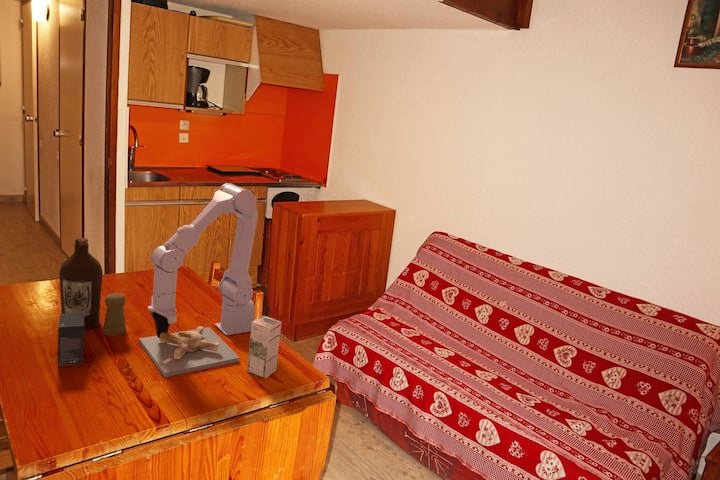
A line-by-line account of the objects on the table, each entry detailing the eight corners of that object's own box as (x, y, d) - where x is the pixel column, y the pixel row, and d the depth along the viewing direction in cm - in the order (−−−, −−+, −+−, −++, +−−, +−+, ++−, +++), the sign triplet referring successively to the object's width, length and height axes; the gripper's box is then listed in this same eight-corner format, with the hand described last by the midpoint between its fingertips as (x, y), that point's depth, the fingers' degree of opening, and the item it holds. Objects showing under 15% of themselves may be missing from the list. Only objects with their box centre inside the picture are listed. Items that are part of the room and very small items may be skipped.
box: (83, 364, 131) (84, 325, 128) (57, 366, 129) (57, 326, 126) (84, 349, 138) (84, 311, 135) (59, 351, 135) (59, 313, 133)
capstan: (201, 333, 152) (202, 320, 151) (220, 352, 143) (221, 339, 142) (158, 341, 144) (158, 327, 143) (175, 361, 136) (176, 347, 134)
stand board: (209, 330, 158) (209, 326, 158) (239, 361, 143) (239, 356, 143) (139, 342, 145) (139, 337, 145) (164, 377, 131) (164, 372, 130)
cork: (117, 337, 146) (118, 300, 143) (97, 333, 147) (98, 296, 144) (130, 329, 152) (132, 293, 149) (111, 324, 153) (112, 289, 150)
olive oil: (65, 314, 155) (65, 232, 148) (105, 316, 157) (107, 235, 151) (54, 331, 145) (53, 243, 138) (96, 332, 147) (98, 246, 141)
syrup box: (276, 370, 142) (282, 320, 138) (264, 379, 136) (269, 327, 133) (259, 363, 144) (264, 314, 140) (245, 372, 138) (251, 321, 135)
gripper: (140, 282, 145) (138, 328, 148) (158, 302, 134) (155, 351, 137) (166, 280, 149) (164, 324, 152) (185, 299, 138) (182, 346, 142)
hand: (161, 337), depth 145 cm, fingers closed, pressing on capstan
